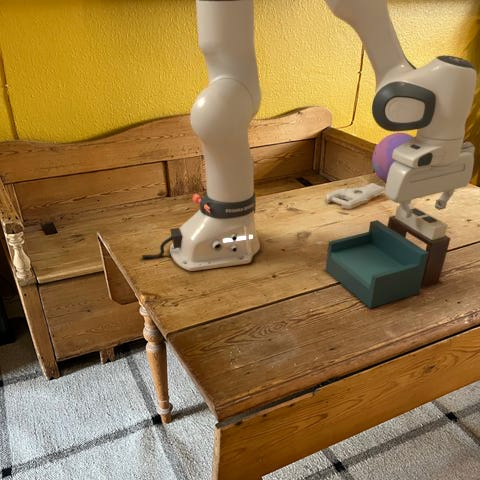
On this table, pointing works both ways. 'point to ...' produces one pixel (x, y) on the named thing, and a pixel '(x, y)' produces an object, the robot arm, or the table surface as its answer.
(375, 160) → the decorative ball
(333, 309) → the table surface
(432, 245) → the brown wooden box
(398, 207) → the remote
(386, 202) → the table surface
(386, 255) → the teal armchair
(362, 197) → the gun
